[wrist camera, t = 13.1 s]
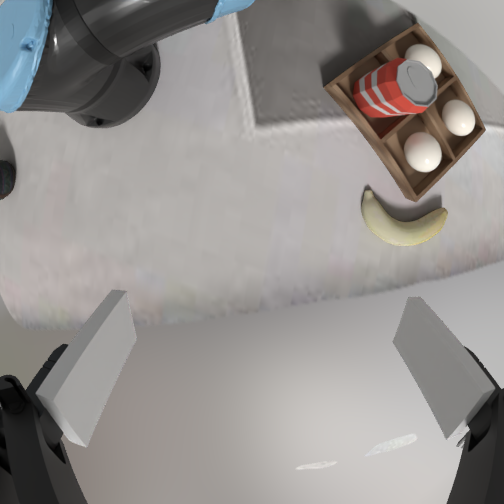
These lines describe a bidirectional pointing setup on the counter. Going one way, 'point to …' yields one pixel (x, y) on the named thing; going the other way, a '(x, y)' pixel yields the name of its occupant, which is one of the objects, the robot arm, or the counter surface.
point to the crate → (407, 116)
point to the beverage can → (396, 89)
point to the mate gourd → (6, 179)
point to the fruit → (400, 223)
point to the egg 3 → (458, 117)
